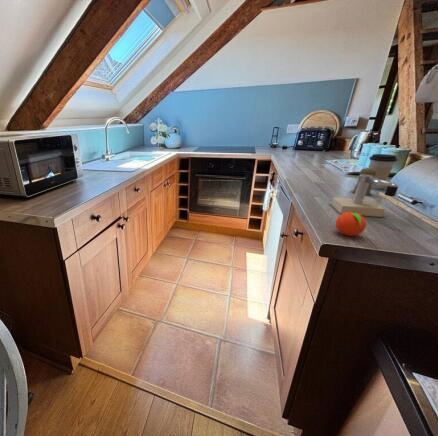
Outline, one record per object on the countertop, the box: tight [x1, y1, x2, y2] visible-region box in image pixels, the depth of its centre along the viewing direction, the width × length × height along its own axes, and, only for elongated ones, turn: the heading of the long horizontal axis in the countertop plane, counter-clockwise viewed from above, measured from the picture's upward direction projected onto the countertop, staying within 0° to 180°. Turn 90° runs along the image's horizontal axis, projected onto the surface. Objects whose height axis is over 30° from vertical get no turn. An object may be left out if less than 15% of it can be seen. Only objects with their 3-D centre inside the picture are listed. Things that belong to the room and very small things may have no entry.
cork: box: [352, 167, 376, 196], centre depth 106 cm, size 6×6×11 cm
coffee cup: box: [368, 153, 398, 190], centre depth 113 cm, size 9×9×15 cm
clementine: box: [335, 212, 367, 237], centre depth 70 cm, size 8×7×7 cm
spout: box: [357, 173, 399, 197], centre depth 80 cm, size 14×4×4 cm, turn 177°
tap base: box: [330, 181, 386, 218], centre depth 87 cm, size 12×10×11 cm
